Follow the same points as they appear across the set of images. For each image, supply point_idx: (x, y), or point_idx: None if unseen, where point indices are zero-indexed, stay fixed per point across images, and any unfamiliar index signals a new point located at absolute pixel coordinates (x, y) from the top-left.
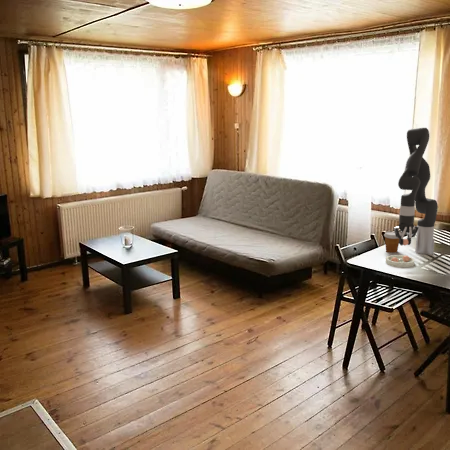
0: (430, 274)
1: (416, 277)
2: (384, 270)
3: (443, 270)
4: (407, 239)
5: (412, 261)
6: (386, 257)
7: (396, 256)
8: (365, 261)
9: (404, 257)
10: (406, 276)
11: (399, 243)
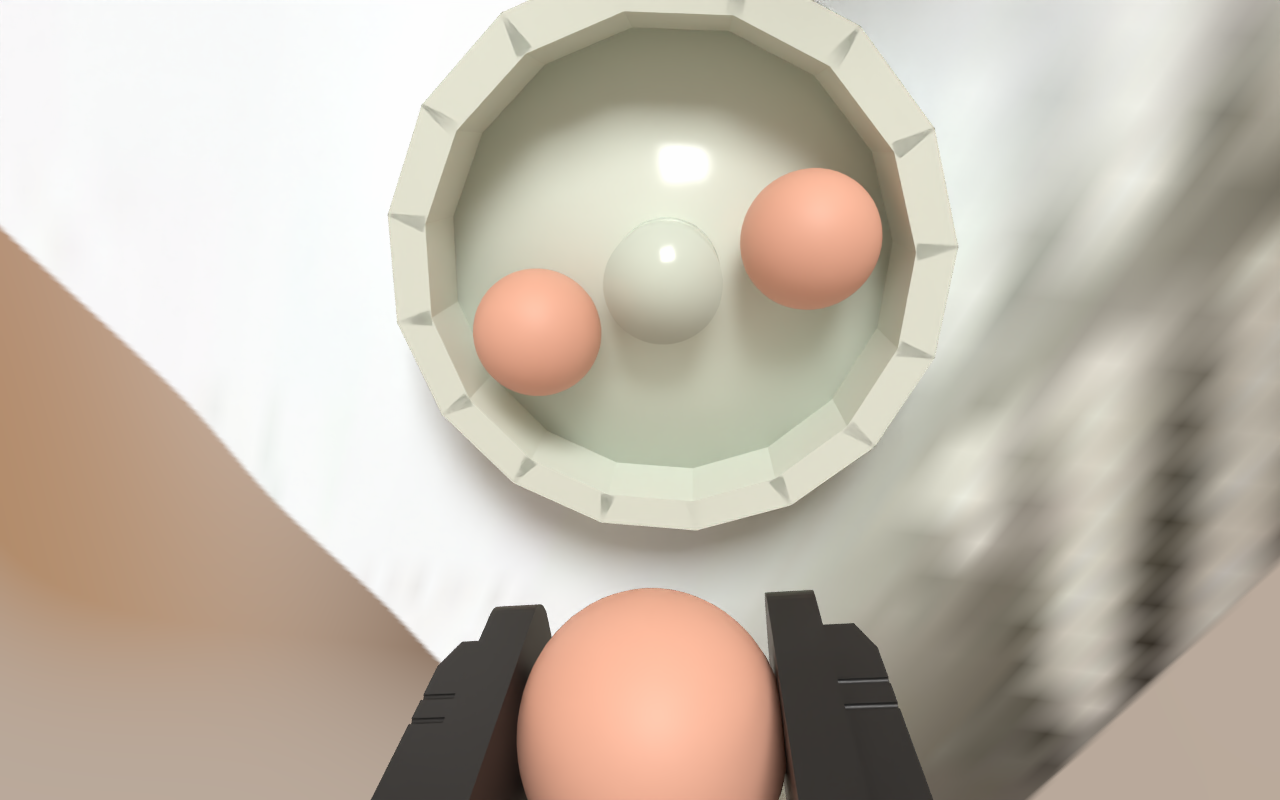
0: None
1: None
2: (346, 509)
3: (1191, 613)
4: (788, 764)
5: (825, 466)
6: (414, 151)
7: (686, 18)
8: (95, 11)
9: (763, 276)
10: None
11: (452, 681)
